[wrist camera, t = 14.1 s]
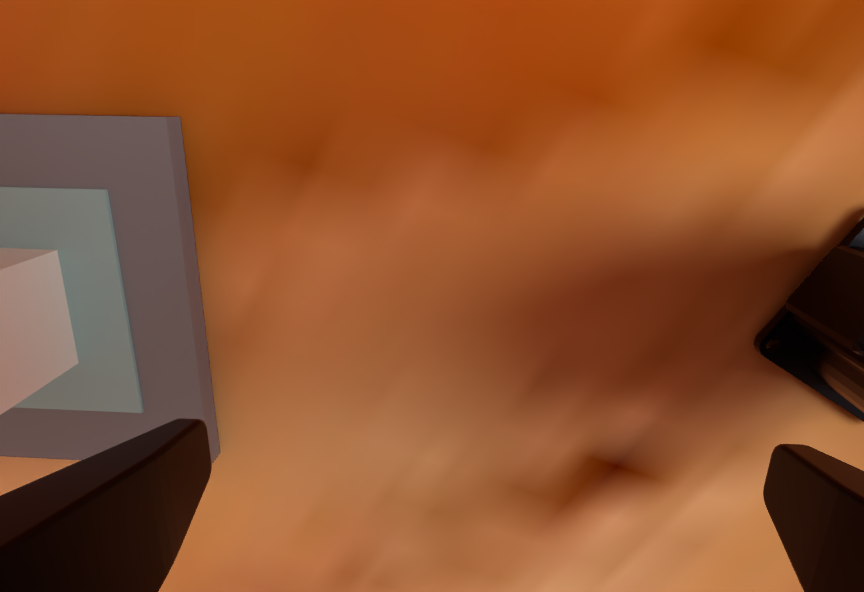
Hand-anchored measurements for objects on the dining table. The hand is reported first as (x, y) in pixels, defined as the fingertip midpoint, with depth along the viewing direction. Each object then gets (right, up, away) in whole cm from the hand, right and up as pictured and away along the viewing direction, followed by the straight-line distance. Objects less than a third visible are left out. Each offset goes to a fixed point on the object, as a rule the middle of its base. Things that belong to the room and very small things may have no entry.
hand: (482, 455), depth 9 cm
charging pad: (-17, +3, +14) cm, 22 cm away
